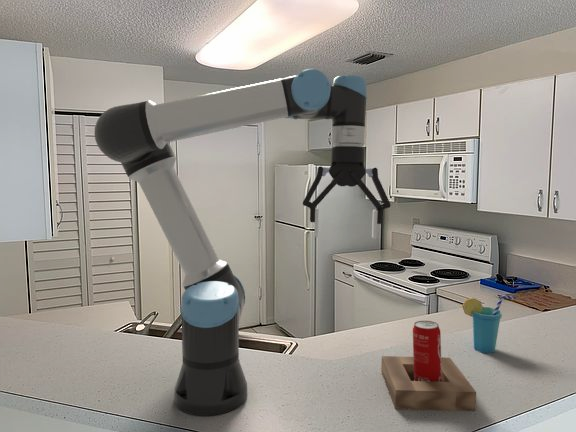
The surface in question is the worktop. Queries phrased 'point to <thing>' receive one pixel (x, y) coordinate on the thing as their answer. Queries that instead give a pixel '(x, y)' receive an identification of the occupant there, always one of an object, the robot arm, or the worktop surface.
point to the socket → (427, 386)
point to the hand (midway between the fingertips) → (344, 237)
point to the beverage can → (427, 351)
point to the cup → (484, 323)
